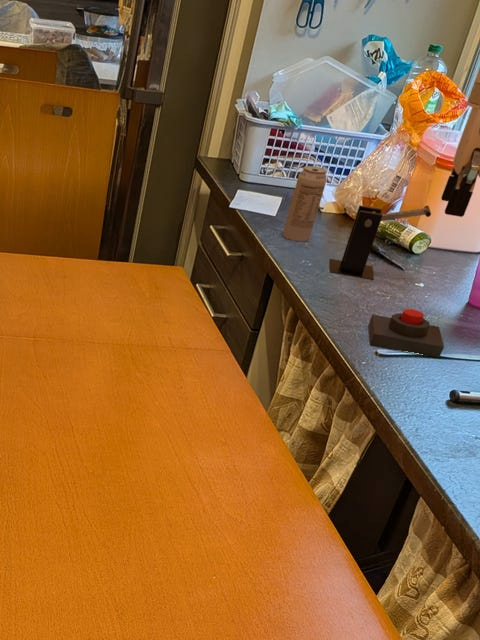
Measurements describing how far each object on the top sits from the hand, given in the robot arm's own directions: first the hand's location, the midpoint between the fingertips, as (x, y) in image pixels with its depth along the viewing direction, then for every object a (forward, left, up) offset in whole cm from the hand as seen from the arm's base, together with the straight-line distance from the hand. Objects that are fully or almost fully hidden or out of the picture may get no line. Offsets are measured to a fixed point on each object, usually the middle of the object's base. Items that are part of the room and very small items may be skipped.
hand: (451, 208), depth 164 cm
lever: (+6, -22, -9) cm, 24 cm away
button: (+2, +12, -17) cm, 21 cm away
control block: (+2, +12, -20) cm, 24 cm away
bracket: (+11, -22, -20) cm, 32 cm away
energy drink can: (+23, -39, -20) cm, 49 cm away
